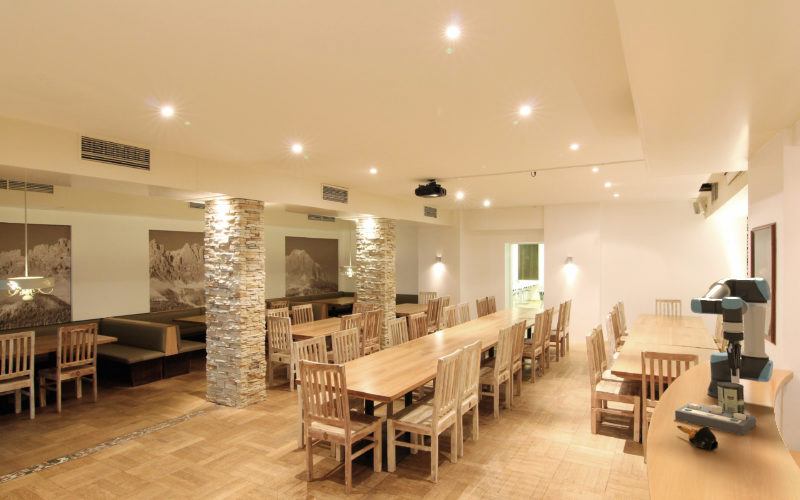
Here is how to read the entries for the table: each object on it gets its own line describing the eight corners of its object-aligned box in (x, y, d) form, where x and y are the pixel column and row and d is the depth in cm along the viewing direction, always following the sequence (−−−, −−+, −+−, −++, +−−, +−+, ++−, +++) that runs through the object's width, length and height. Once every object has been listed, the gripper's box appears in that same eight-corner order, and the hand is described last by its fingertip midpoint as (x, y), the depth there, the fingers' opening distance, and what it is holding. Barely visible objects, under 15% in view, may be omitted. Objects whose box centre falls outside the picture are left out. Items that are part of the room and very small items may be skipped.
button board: (690, 410, 220) (690, 401, 220) (755, 425, 199) (755, 415, 200) (675, 419, 209) (675, 409, 209) (742, 435, 188) (742, 424, 189)
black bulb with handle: (706, 443, 170) (665, 414, 186) (706, 463, 174) (667, 433, 190) (724, 432, 172) (682, 404, 188) (724, 452, 176) (684, 423, 192)
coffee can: (737, 410, 219) (736, 382, 219) (749, 418, 209) (748, 387, 209) (714, 409, 221) (713, 381, 222) (724, 416, 211) (723, 386, 211)
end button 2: (735, 423, 202) (735, 412, 202) (747, 426, 198) (747, 414, 198) (732, 425, 199) (732, 414, 199) (744, 428, 196) (744, 417, 196)
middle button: (712, 415, 209) (712, 404, 209) (723, 417, 205) (723, 406, 206) (709, 417, 206) (708, 406, 206) (720, 420, 203) (720, 408, 203)
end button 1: (691, 413, 216) (690, 402, 216) (701, 415, 213) (701, 405, 213) (687, 415, 213) (687, 404, 214) (698, 417, 210) (697, 407, 210)
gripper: (728, 328, 211) (730, 378, 210) (718, 332, 203) (721, 384, 202) (747, 330, 205) (749, 381, 204) (738, 334, 197) (741, 387, 196)
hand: (735, 382), depth 203 cm, fingers closed
